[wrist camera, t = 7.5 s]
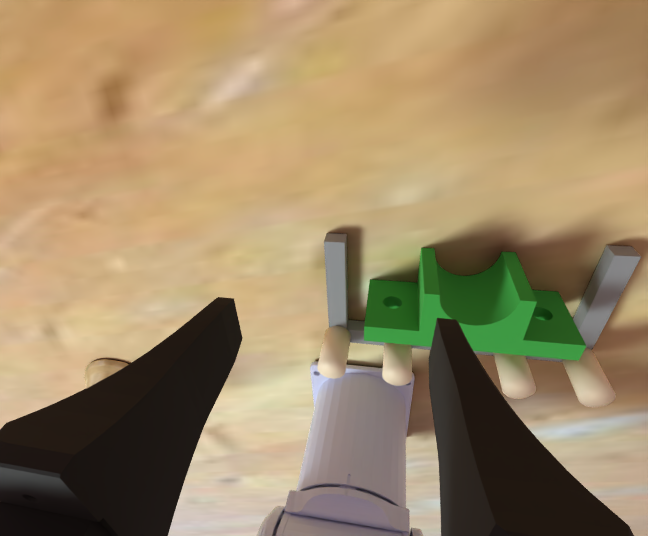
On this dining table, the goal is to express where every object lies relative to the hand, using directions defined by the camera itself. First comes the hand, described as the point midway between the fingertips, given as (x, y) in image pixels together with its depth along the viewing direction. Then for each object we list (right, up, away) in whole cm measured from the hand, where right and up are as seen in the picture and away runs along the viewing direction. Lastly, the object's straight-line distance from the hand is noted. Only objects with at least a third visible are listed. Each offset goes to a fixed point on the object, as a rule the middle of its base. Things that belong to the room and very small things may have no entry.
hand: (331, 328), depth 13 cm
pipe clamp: (+8, +2, +10) cm, 13 cm away
